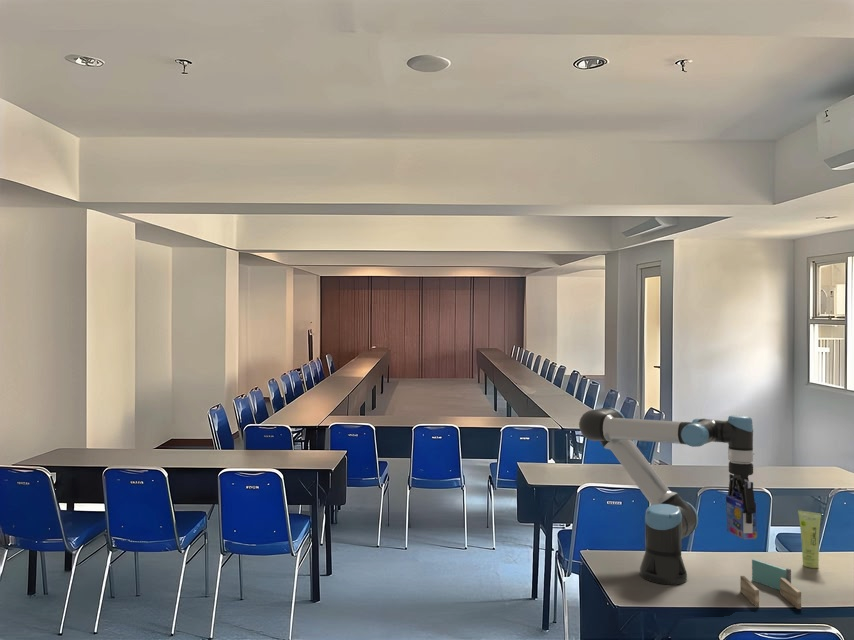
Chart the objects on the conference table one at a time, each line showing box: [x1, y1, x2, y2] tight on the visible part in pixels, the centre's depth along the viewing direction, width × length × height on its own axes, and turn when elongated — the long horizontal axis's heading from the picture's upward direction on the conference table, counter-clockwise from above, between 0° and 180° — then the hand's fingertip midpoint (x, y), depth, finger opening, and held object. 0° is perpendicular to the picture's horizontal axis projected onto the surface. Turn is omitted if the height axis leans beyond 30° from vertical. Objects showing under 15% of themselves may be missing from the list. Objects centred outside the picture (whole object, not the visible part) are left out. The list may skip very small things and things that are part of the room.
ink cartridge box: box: [725, 491, 758, 540], centre depth 222 cm, size 10×6×14 cm, turn 7°
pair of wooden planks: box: [739, 575, 802, 610], centre depth 206 cm, size 13×12×5 cm
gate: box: [751, 558, 792, 591], centre depth 217 cm, size 13×1×8 cm, turn 29°
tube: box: [797, 509, 822, 569], centre depth 238 cm, size 6×5×20 cm
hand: (741, 528), depth 221 cm, fingers closed on ink cartridge box, 10 cm apart
